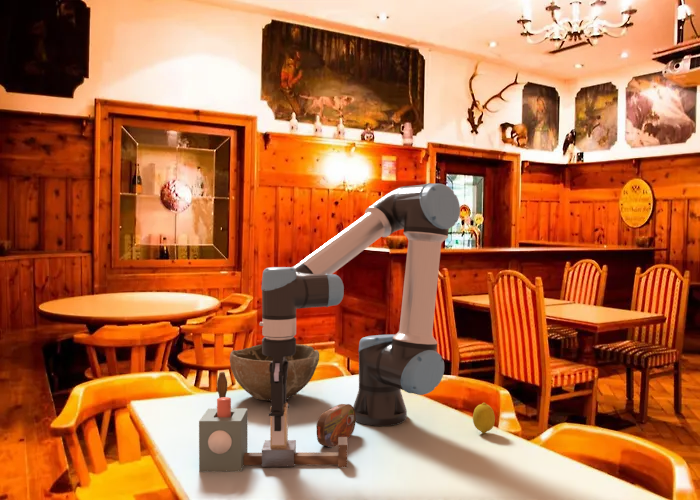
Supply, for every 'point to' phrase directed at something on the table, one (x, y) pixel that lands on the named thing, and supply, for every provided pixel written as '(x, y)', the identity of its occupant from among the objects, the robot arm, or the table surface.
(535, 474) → the table surface
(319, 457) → the rail
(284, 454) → the block
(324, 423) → the tin
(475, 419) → the lemon
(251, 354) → the bowl
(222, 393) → the hand bell
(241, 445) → the grey hole block
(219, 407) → the red rounded peg
